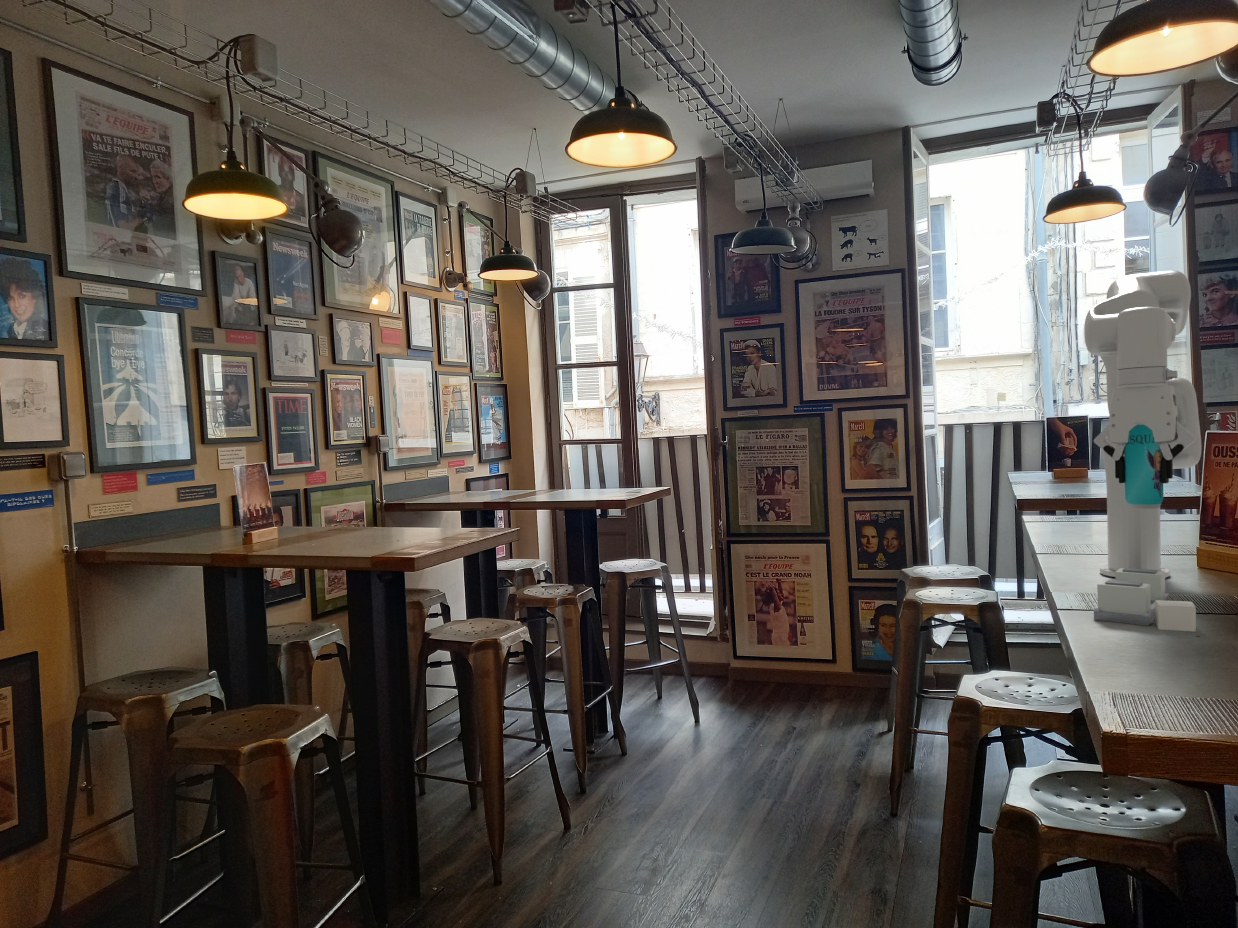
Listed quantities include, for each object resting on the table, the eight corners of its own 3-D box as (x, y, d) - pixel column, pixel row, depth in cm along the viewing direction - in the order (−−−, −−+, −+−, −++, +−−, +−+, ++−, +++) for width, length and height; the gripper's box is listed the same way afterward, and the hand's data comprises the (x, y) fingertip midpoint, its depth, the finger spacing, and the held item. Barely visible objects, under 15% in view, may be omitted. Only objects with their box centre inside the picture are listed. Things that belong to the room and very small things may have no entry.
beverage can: (1151, 509, 147) (1150, 421, 147) (1118, 507, 152) (1116, 422, 152) (1170, 507, 150) (1169, 421, 149) (1137, 505, 155) (1136, 422, 154)
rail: (1118, 599, 159) (1118, 589, 158) (1169, 604, 153) (1169, 593, 153) (1093, 619, 145) (1093, 608, 145) (1148, 625, 140) (1148, 613, 140)
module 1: (1103, 606, 148) (1103, 578, 148) (1150, 610, 143) (1150, 582, 143) (1097, 610, 145) (1097, 582, 145) (1145, 615, 140) (1145, 586, 140)
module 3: (1155, 624, 141) (1155, 599, 141) (1191, 626, 139) (1191, 601, 139) (1158, 630, 138) (1158, 605, 137) (1195, 632, 135) (1195, 607, 135)
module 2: (1120, 592, 158) (1120, 566, 158) (1165, 596, 153) (1165, 569, 153) (1115, 596, 155) (1115, 570, 155) (1161, 600, 150) (1160, 573, 150)
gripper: (1204, 376, 148) (1205, 482, 148) (1091, 383, 159) (1093, 481, 159) (1198, 374, 142) (1199, 484, 142) (1082, 382, 153) (1083, 483, 153)
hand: (1143, 481), depth 151 cm, fingers closed on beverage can, 5 cm apart
